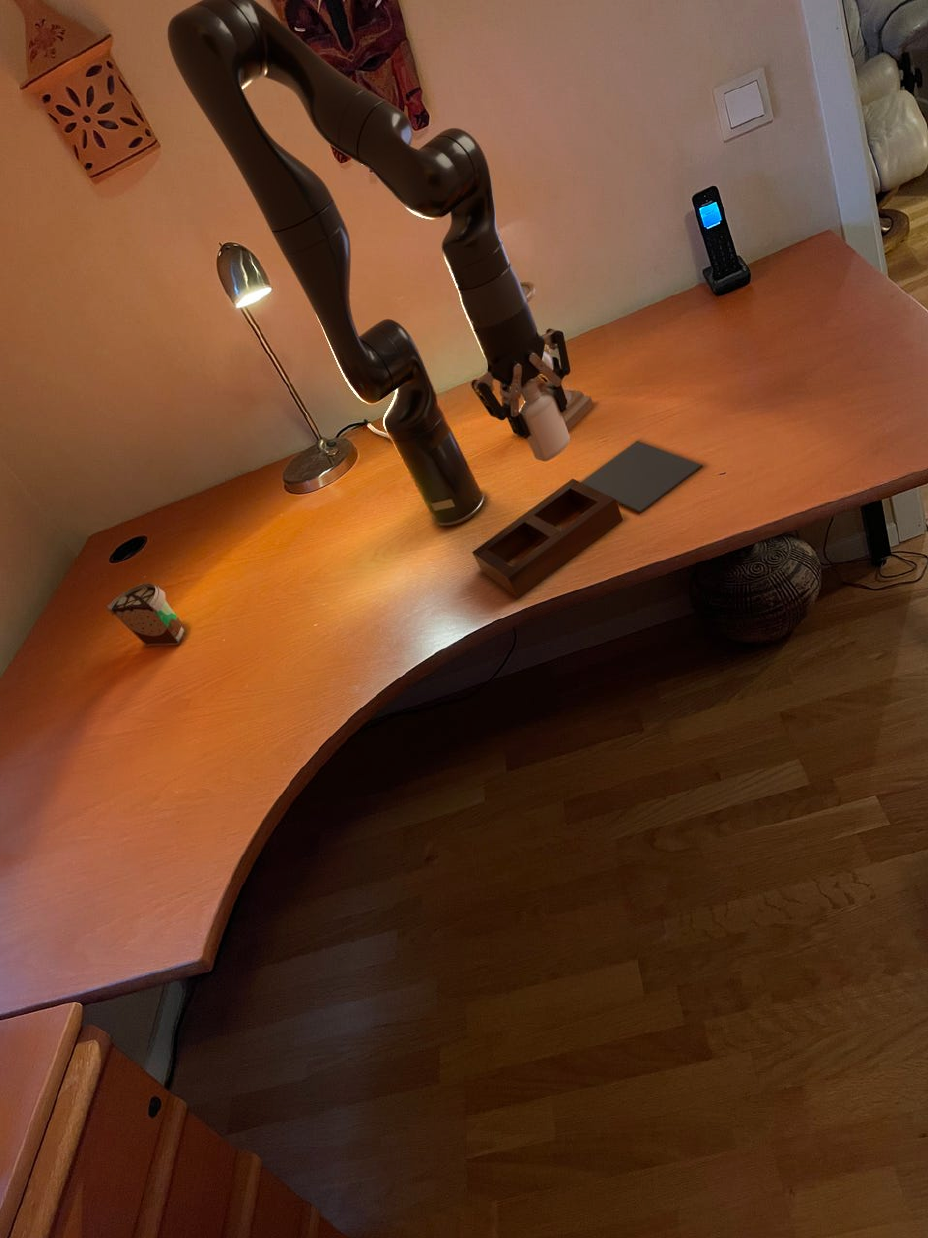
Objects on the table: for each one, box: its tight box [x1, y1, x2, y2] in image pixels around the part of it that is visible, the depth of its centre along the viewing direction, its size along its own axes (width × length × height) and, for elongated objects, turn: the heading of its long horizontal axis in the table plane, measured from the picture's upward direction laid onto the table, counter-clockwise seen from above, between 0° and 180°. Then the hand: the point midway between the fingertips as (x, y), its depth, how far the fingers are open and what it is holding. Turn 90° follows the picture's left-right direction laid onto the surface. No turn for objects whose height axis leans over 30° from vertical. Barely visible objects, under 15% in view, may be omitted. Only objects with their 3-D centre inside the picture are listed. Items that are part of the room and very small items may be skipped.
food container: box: [107, 582, 187, 646], centre depth 148 cm, size 12×6×10 cm, turn 65°
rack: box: [471, 478, 624, 600], centre depth 121 cm, size 11×19×4 cm, turn 118°
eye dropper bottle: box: [519, 379, 571, 462], centre depth 112 cm, size 4×6×12 cm
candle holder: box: [513, 281, 595, 438], centre depth 143 cm, size 11×11×24 cm
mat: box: [580, 440, 703, 514], centre depth 126 cm, size 15×12×1 cm
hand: (542, 422), depth 113 cm, fingers closed on eye dropper bottle, 5 cm apart
